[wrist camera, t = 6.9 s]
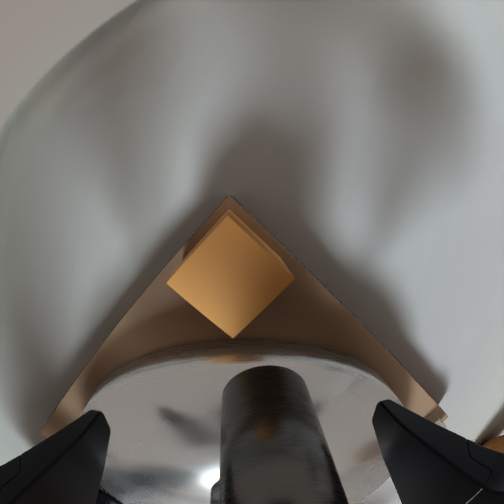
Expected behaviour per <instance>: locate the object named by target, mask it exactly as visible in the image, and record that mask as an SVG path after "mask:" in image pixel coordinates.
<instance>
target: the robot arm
mask: <svg viewBox="0 0 504 504" xmlns="http://www.w3.org/2000/svg"><path fill="white" fill-rule="evenodd" d="M372 424H373V427H374V431H375V434H376V437H377V441H378V444H379V447H380V451H381V454H382V457H383V460H384V462H385V465H386V467H387V469H388V472H389V474H390V476H391V478H392V481H393V483H394V486H395V488H396V490H397V493H398V495H399V497H400V500H401V502H402V504H504V453H502V452H498V451H495V450H492V449H490V448H487V447H484V446H482V445H479V444H477V443H475V442H473V441H470V440H467V439H466V438H464V437H462V436H460V435H458V434H456V433H454V432H451V431H449V430H447V429H445V428H443V427H441V426H439V425H437V424H435V423H434V422H432V421H430V420H428V419H426V418H424V417H422V416H420V415H418V414H416V413H414V412H412V411H411V410H409V409H407V408H405V407H403V406H401V405H400V404H398V403H396V402H394V401H392V400H390V399H387V400H383V401H379V402H378V403H377V405H376V408H375V411H374V414H373V417H372ZM110 433H111V430H110V426H109V424H108V422H107V420H106V418H105V415H104V414H103V412H102V411H98V410H89V411H88V412H86V413H85V414H83V415H82V416H80V417H79V418H77V419H76V420H74V421H73V422H71V423H70V424H68V425H67V426H65V427H64V428H62V429H61V430H59V431H58V432H56V433H54V434H53V435H51V436H50V437H48V438H47V439H45V440H44V441H42V442H40V443H39V444H37V445H36V446H34V447H32V448H31V449H29V450H28V451H26V452H24V453H23V454H21V455H19V456H18V457H16V458H14V459H13V460H11V461H9V462H7V463H6V464H4V465H2V466H0V504H123V503H121V502H119V501H117V500H115V499H113V498H111V497H109V496H107V495H106V494H104V493H102V492H100V491H98V490H99V486H100V483H101V479H102V476H103V472H104V468H105V463H106V456H107V450H108V445H109V439H110Z"/></svg>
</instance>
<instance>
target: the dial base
mask: <svg viewBox="0 0 504 504" xmlns="http://www.w3.org/2000/svg"><path fill="white" fill-rule="evenodd" d="M230 338H267V339H277V340H288V341H297V342H302V343H307V344H312V345H317V346H323V347H326V348H329V349H332V350H335V351H338V352H341V353H344V354H347V355H349V356H351V357H353V358H355V359H357V360H359V361H361V362H363V363H365V364H366V365H367V366H369V367H370V368H371V369H373V370H374V371H376V372H377V373H378V374H379V375H380V376H381V377H382V378H383V380H384V381H385V382H386V383H387V384H388V385H389V387H390V388H391V389H392V391H393V392H394V393H395V395H396V396H397V398H398V399H399V400H400V402H401V403H402V404H403V406H404V407H405V408H407V409H409V410H411V411H412V412H414V413H416V414H418V415H420V416H422V417H424V418H426V419H428V420H430V421H432V422H434V423H435V424H437V425H439V426H441V427H443V428H446V427H447V426H446V425H445V424H444V423H443V421H444V420H445V419H446V418H447V417H448V416H447V414H446V413H445V412H444V411H443V410H442V409H441V407H440V406H439V405H438V404H437V403H436V402H435V401H434V400H433V398H432V397H431V396H430V395H429V394H428V393H427V392H426V391H425V390H424V389H423V388H422V387H421V385H420V384H419V383H418V382H417V381H416V380H415V379H414V378H413V377H412V376H411V375H410V374H409V373H408V372H407V371H406V369H405V368H404V367H403V366H402V365H401V364H400V363H399V362H398V361H397V360H396V359H395V358H394V357H393V356H392V355H391V354H390V353H389V352H388V351H387V349H386V348H385V347H384V346H383V345H382V344H381V343H380V342H379V341H378V340H377V339H376V338H375V337H374V336H373V335H372V334H371V333H370V332H369V331H368V330H367V329H366V328H365V327H364V326H363V325H362V324H361V323H360V322H359V321H358V320H357V319H356V318H355V317H354V316H353V315H352V314H351V312H350V311H349V310H348V309H347V308H346V307H345V306H344V305H343V304H342V303H341V302H340V301H339V300H338V299H337V298H336V297H335V296H334V295H333V294H332V293H331V292H330V291H329V290H328V289H327V288H326V287H325V286H324V285H323V284H322V283H321V282H320V281H319V280H318V279H317V278H315V277H314V276H313V275H312V274H311V273H310V272H309V271H308V270H307V269H306V268H305V267H304V266H303V265H302V264H301V263H300V262H299V261H298V260H297V259H296V258H295V257H294V256H293V255H292V254H291V253H290V252H289V251H288V250H287V249H286V248H285V247H284V246H283V245H282V244H281V243H280V242H279V241H278V240H276V239H275V238H274V237H273V236H272V235H271V234H270V233H269V232H268V231H267V230H266V229H265V228H264V227H263V226H262V225H261V224H260V223H259V222H258V221H257V220H256V219H254V218H253V217H252V216H251V215H250V214H249V213H248V212H247V211H246V210H245V209H244V208H243V207H242V206H241V205H240V204H239V203H237V202H236V201H235V200H234V199H233V198H232V197H231V196H230V195H229V196H228V197H227V198H226V200H225V201H224V202H223V203H222V204H221V205H220V206H219V207H218V208H217V209H216V210H215V211H214V212H213V213H212V215H211V216H210V217H209V218H208V219H207V220H206V221H205V222H204V223H203V224H202V225H201V227H200V228H199V229H198V230H197V231H196V232H195V233H194V234H193V235H192V237H191V238H190V239H189V240H188V241H187V242H186V243H185V244H184V246H183V247H182V248H181V249H180V250H179V251H178V252H177V254H176V255H175V256H174V257H173V258H172V259H171V260H170V262H169V263H168V264H167V265H166V266H165V267H164V269H163V270H162V271H161V272H160V273H159V274H158V276H157V277H156V278H155V279H154V280H153V282H152V283H151V284H150V285H149V286H148V287H147V289H146V290H145V291H144V292H143V294H142V295H141V296H140V297H139V298H138V300H137V301H136V302H135V303H134V305H133V306H132V307H131V308H130V309H129V311H128V312H127V313H126V314H125V316H124V317H123V318H122V319H121V321H120V322H119V323H118V325H117V326H116V327H115V328H114V330H113V331H112V332H111V333H110V335H109V336H108V337H107V339H106V340H105V341H104V343H103V344H102V345H101V346H100V348H99V349H98V350H97V352H96V353H95V354H94V356H93V357H92V358H91V360H90V361H89V362H88V364H87V365H86V367H85V368H84V369H83V371H82V372H81V373H80V375H79V376H78V378H77V379H76V380H75V382H74V383H73V385H72V386H71V387H70V389H69V390H68V392H67V393H66V395H65V396H64V397H63V399H62V400H61V402H60V403H59V405H58V406H57V408H56V409H55V411H54V412H53V414H52V415H51V417H50V418H49V420H48V421H47V423H46V424H45V426H44V427H43V429H42V430H41V432H40V434H41V435H42V436H44V437H45V438H46V439H47V438H48V437H50V436H51V435H53V434H54V433H56V432H58V431H59V430H61V429H62V428H64V427H65V426H67V425H68V424H70V423H71V422H73V421H74V420H76V419H77V418H79V417H80V415H81V413H82V412H83V410H84V408H85V407H86V405H87V403H88V401H89V400H90V398H91V396H92V395H93V393H94V392H95V390H96V389H97V387H98V386H99V384H100V383H101V382H102V381H103V380H104V379H105V378H106V377H107V376H108V375H109V374H111V373H112V372H113V371H115V370H116V369H118V368H119V367H121V366H122V365H124V364H126V363H127V362H129V361H131V360H134V359H136V358H138V357H141V356H143V355H145V354H148V353H150V352H154V351H157V350H161V349H164V348H168V347H171V346H175V345H181V344H187V343H193V342H198V341H205V340H218V339H230Z"/></svg>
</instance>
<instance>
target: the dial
mask: <svg viewBox="0 0 504 504" xmlns="http://www.w3.org/2000/svg"><path fill="white" fill-rule="evenodd" d="M387 399H390V400H392V401H394V402H396V403H398V404H400V405H401V406H403V404H402V403H401V402H400V400H399V399H398V398H397V396H396V395H395V393H394V392H393V391H392V389H391V388H390V387H389V385H388V384H387V383H386V382H385V381H384V380H383V378H382V377H381V376H380V375H379V374H378V373H377V372H376V371H374V370H373V369H371V368H370V367H369V366H367V365H366V364H365V363H363V362H361V361H359V360H357V359H355V358H353V357H351V356H349V355H347V354H344V353H341V352H338V351H335V350H332V349H329V348H326V347H323V346H317V345H312V344H307V343H302V342H297V341H288V340H277V339H267V338H230V339H218V340H205V341H198V342H193V343H187V344H181V345H175V346H171V347H168V348H164V349H161V350H157V351H154V352H150V353H148V354H145V355H143V356H141V357H138V358H136V359H134V360H131V361H129V362H127V363H126V364H124V365H122V366H121V367H119V368H118V369H116V370H115V371H113V372H112V373H111V374H109V375H108V376H107V377H106V378H105V379H104V380H103V381H102V382H101V383H100V384H99V386H98V387H97V389H96V390H95V392H94V393H93V395H92V396H91V398H90V400H89V401H88V403H87V405H86V407H85V408H84V410H83V412H82V413H81V415H80V416H82V415H83V414H85V413H86V412H88V411H89V410H98V411H102V412H103V414H104V415H105V418H106V420H107V422H108V424H109V426H110V430H111V433H110V439H109V445H108V450H107V456H106V463H105V468H104V472H103V476H102V479H101V483H100V486H101V487H103V488H104V489H105V490H106V491H107V492H108V493H109V494H111V495H112V496H113V497H115V498H116V499H117V500H119V501H120V502H122V503H124V504H356V503H358V502H360V501H361V500H363V499H364V498H366V497H367V496H368V495H370V494H371V493H372V492H374V491H375V490H376V489H377V488H378V487H379V486H381V485H382V484H383V483H384V482H385V481H386V480H387V479H388V478H389V477H390V474H389V472H388V469H387V467H386V465H385V462H384V460H383V457H382V454H381V451H380V447H379V444H378V441H377V437H376V434H375V431H374V427H373V424H372V417H373V414H374V411H375V408H376V405H377V403H378V402H379V401H383V400H387ZM403 407H404V406H403Z"/></svg>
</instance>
